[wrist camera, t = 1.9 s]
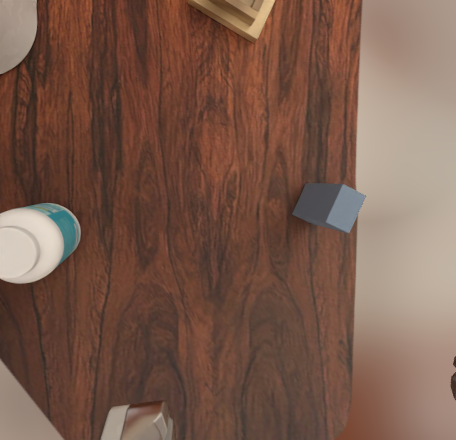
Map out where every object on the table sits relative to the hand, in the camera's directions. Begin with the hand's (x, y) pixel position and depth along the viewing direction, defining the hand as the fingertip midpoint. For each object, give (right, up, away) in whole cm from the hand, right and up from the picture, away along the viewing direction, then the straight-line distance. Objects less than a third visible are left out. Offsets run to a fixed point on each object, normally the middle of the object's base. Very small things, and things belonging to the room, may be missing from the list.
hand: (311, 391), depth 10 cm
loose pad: (+10, +7, +41) cm, 43 cm away
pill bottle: (-25, +3, +34) cm, 42 cm away
